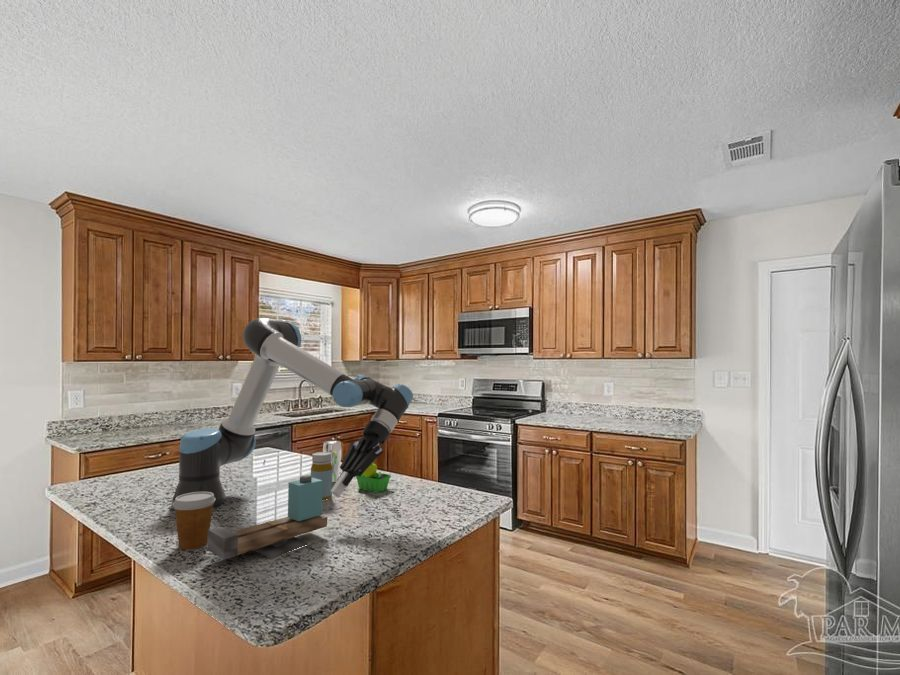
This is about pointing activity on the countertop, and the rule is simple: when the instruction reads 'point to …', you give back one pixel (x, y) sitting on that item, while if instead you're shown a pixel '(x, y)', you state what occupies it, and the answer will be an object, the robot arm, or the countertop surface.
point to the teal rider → (304, 498)
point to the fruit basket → (373, 479)
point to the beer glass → (334, 457)
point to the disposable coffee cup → (193, 518)
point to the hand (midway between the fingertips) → (334, 494)
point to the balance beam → (263, 537)
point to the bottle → (323, 472)
